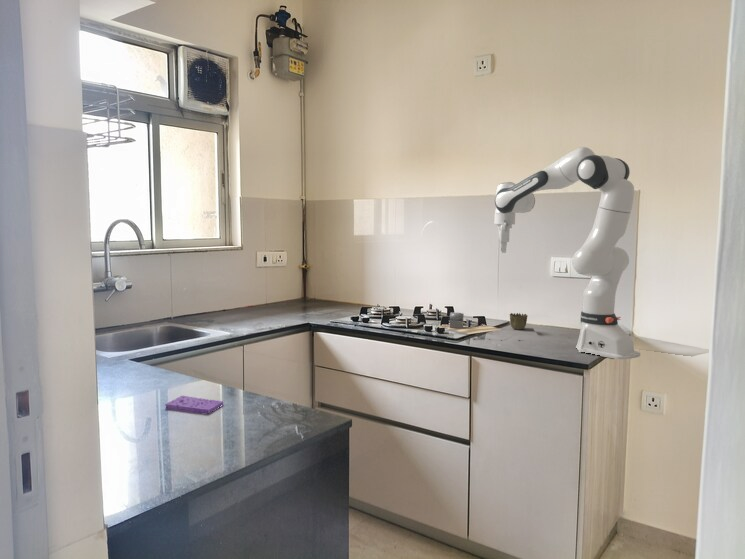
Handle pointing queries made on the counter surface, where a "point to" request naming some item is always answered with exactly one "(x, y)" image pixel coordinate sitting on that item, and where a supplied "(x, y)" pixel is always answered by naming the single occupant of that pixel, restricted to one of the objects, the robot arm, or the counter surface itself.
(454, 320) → the grey cube
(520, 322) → the cup
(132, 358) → the counter surface
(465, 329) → the board
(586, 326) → the robot arm
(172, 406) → the sponges
